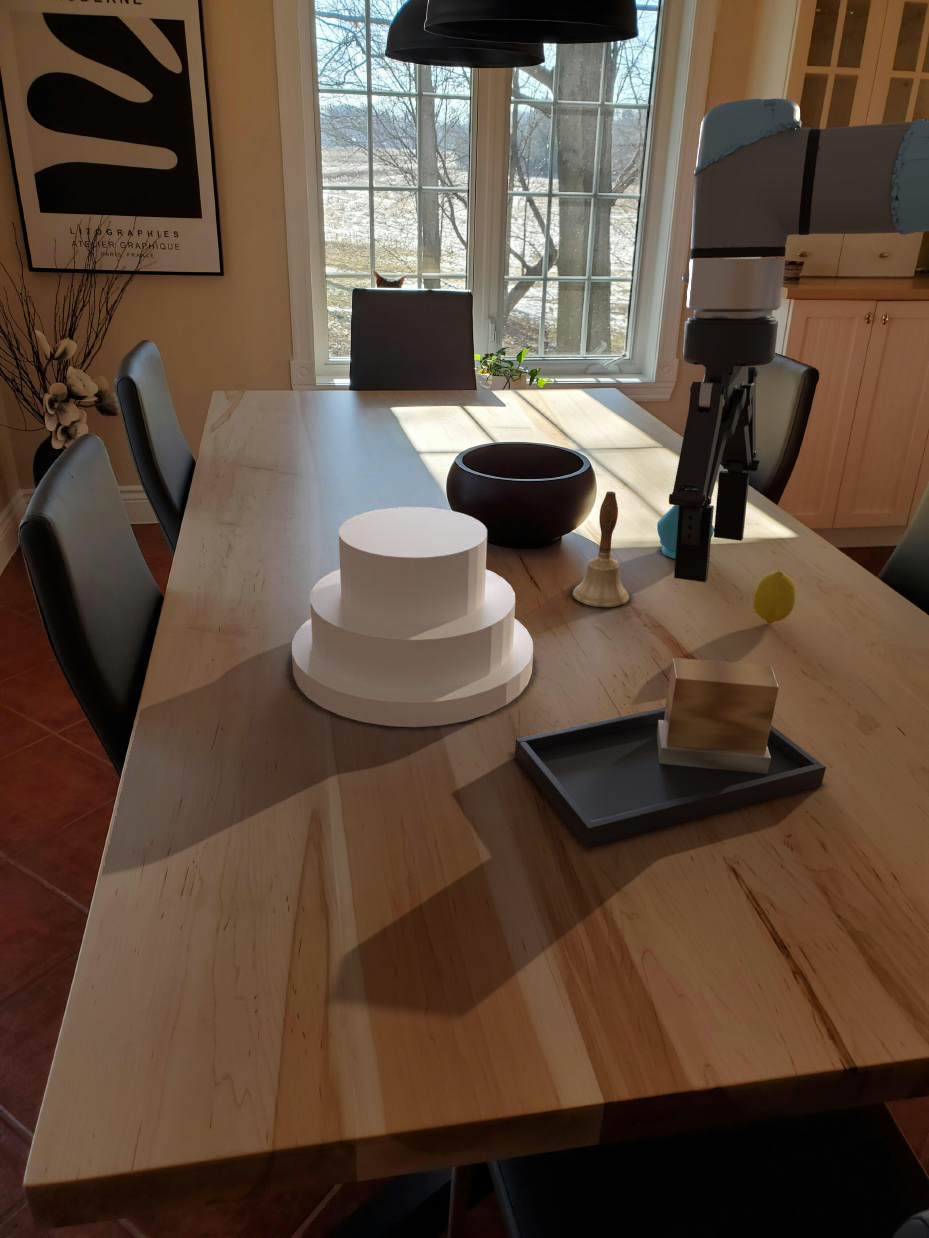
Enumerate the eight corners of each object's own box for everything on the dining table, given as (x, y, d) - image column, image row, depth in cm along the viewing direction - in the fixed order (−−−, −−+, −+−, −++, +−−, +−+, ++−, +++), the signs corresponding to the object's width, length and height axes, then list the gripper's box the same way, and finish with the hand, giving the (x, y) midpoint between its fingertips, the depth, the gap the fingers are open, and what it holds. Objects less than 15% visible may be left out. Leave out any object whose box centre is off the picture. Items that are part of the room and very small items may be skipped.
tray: (821, 785, 92) (826, 766, 91) (586, 848, 83) (588, 828, 82) (727, 709, 105) (730, 692, 104) (514, 756, 96) (515, 738, 95)
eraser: (759, 744, 97) (775, 663, 93) (767, 774, 92) (785, 690, 88) (656, 734, 99) (667, 654, 94) (659, 763, 94) (671, 680, 89)
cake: (548, 725, 101) (560, 580, 93) (279, 729, 99) (268, 581, 91) (516, 610, 128) (523, 491, 120) (304, 612, 126) (297, 490, 118)
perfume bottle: (675, 566, 145) (688, 476, 138) (643, 546, 152) (653, 460, 146) (721, 558, 148) (736, 470, 142) (687, 540, 156) (699, 455, 149)
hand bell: (563, 588, 136) (572, 486, 129) (613, 582, 138) (624, 482, 131) (587, 610, 129) (597, 504, 122) (638, 604, 131) (651, 500, 124)
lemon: (778, 614, 130) (788, 562, 126) (797, 631, 125) (808, 578, 121) (742, 615, 129) (751, 564, 125) (760, 633, 124) (770, 580, 120)
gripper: (722, 307, 87) (705, 519, 95) (641, 323, 67) (627, 592, 74) (804, 307, 83) (778, 528, 91) (744, 324, 63) (718, 606, 71)
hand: (710, 557), depth 83 cm, fingers open, 13 cm apart
